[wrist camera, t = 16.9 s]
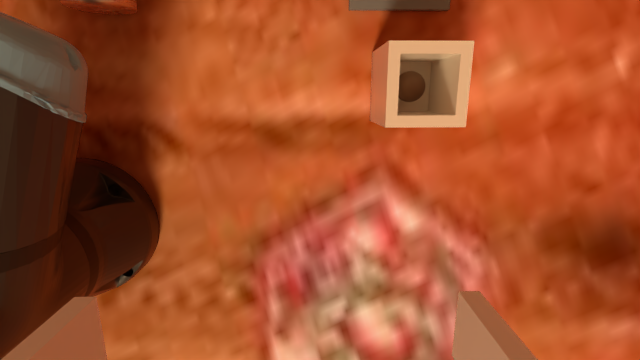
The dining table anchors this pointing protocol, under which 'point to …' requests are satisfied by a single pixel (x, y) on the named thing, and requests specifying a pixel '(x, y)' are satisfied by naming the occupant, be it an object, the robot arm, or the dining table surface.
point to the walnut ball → (411, 86)
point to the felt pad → (400, 5)
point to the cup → (440, 83)
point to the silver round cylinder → (103, 6)
